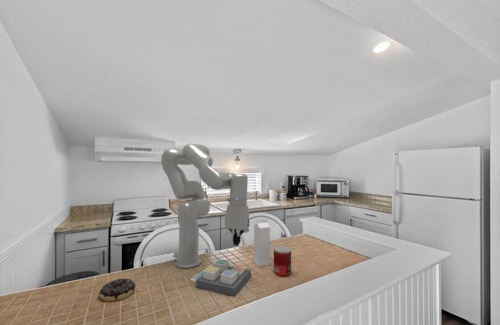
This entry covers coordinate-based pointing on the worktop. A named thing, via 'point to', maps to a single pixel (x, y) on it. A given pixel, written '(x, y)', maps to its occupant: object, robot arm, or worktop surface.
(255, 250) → the milk
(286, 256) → the canned food
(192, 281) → the strip
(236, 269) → the key terracotta
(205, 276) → the key mustard
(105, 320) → the worktop surface
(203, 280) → the keypad
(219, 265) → the key teal
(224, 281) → the key slate
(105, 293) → the donut
